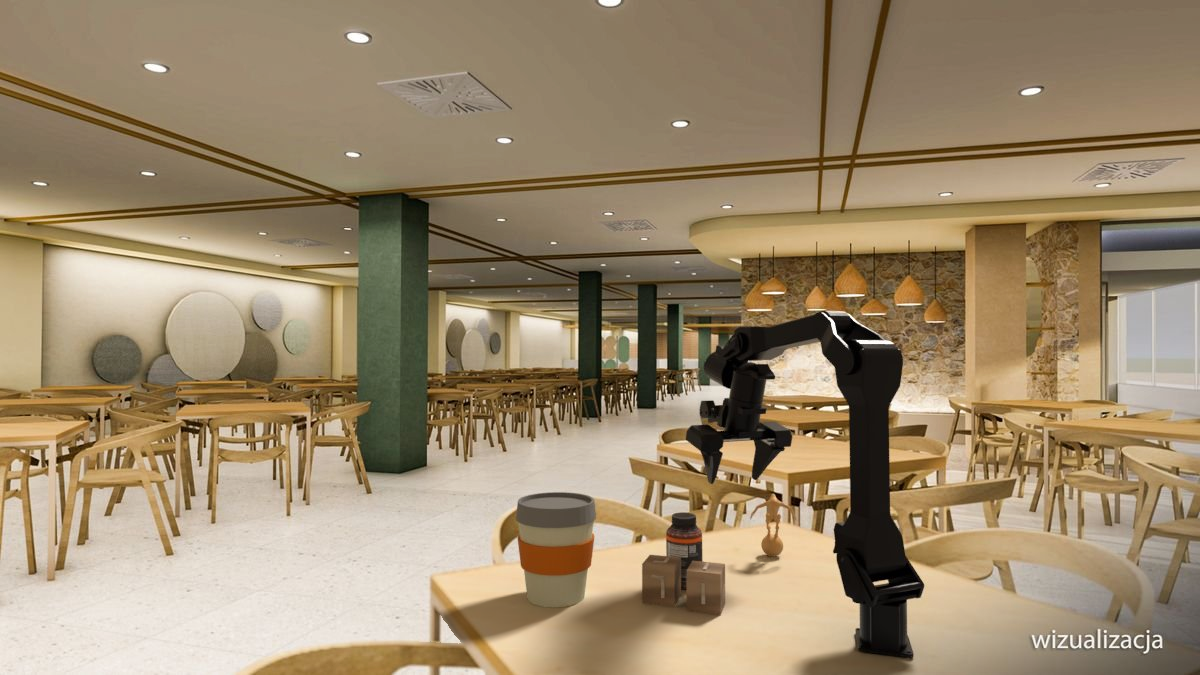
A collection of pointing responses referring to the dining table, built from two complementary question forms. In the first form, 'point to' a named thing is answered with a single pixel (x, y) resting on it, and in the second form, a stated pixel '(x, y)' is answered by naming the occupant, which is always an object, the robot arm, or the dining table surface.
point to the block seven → (661, 580)
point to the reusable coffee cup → (555, 546)
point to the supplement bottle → (684, 542)
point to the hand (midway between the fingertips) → (732, 481)
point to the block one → (706, 587)
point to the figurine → (772, 542)
